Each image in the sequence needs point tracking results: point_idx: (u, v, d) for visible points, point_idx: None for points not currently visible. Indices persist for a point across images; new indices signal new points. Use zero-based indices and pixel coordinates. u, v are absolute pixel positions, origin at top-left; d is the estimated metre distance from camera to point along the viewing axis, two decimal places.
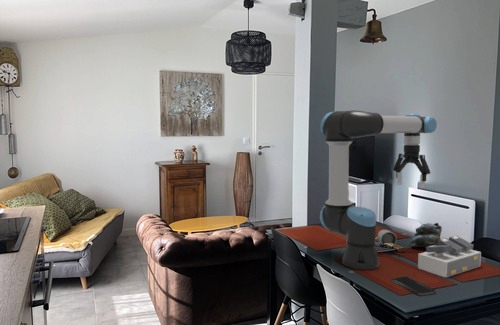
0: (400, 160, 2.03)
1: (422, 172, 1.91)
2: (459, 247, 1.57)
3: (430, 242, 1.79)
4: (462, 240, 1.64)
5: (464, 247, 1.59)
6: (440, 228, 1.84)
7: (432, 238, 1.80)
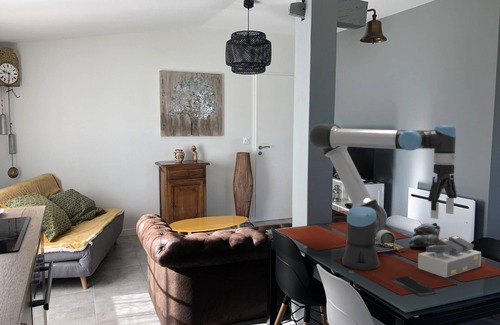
0: None
1: None
2: (459, 247, 1.57)
3: (429, 242, 1.79)
4: (462, 240, 1.64)
5: (464, 247, 1.59)
6: (438, 228, 1.84)
7: (431, 238, 1.80)
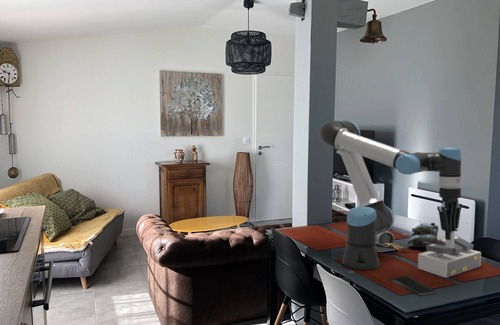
0: None
1: None
2: (459, 247, 1.57)
3: (427, 242, 1.79)
4: (462, 240, 1.64)
5: (464, 247, 1.59)
6: (437, 228, 1.84)
7: (429, 238, 1.80)
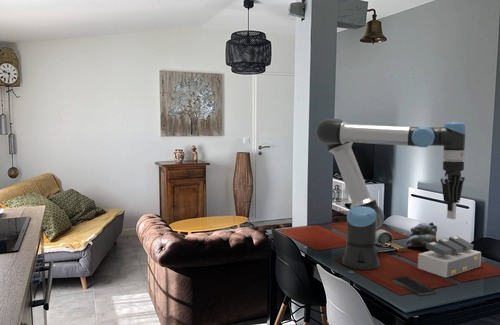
0: None
1: None
2: (459, 247, 1.57)
3: (426, 242, 1.79)
4: (462, 240, 1.64)
5: (464, 247, 1.59)
6: (435, 228, 1.84)
7: (428, 238, 1.80)
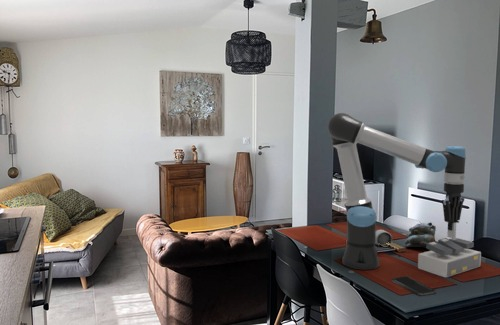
0: None
1: None
2: (459, 247, 1.57)
3: (425, 242, 1.79)
4: (462, 240, 1.64)
5: (464, 245, 1.59)
6: (434, 228, 1.84)
7: (427, 238, 1.80)
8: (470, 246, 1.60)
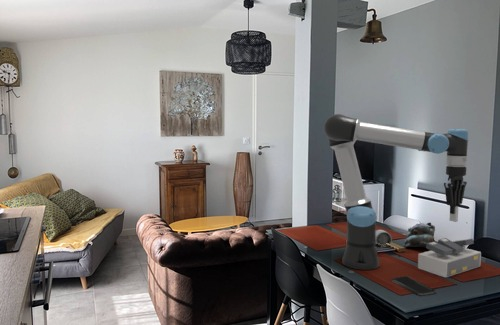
0: None
1: None
2: (459, 247, 1.57)
3: (425, 242, 1.79)
4: (461, 240, 1.64)
5: (464, 242, 1.59)
6: (433, 228, 1.84)
7: (427, 238, 1.80)
8: (470, 242, 1.60)
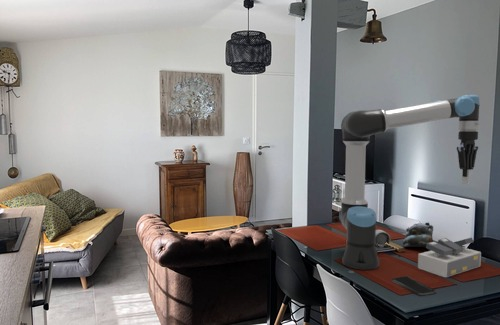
0: None
1: None
2: (459, 247, 1.57)
3: (423, 242, 1.79)
4: None
5: (463, 241, 1.60)
6: (432, 228, 1.85)
7: (425, 238, 1.80)
8: (470, 241, 1.60)
